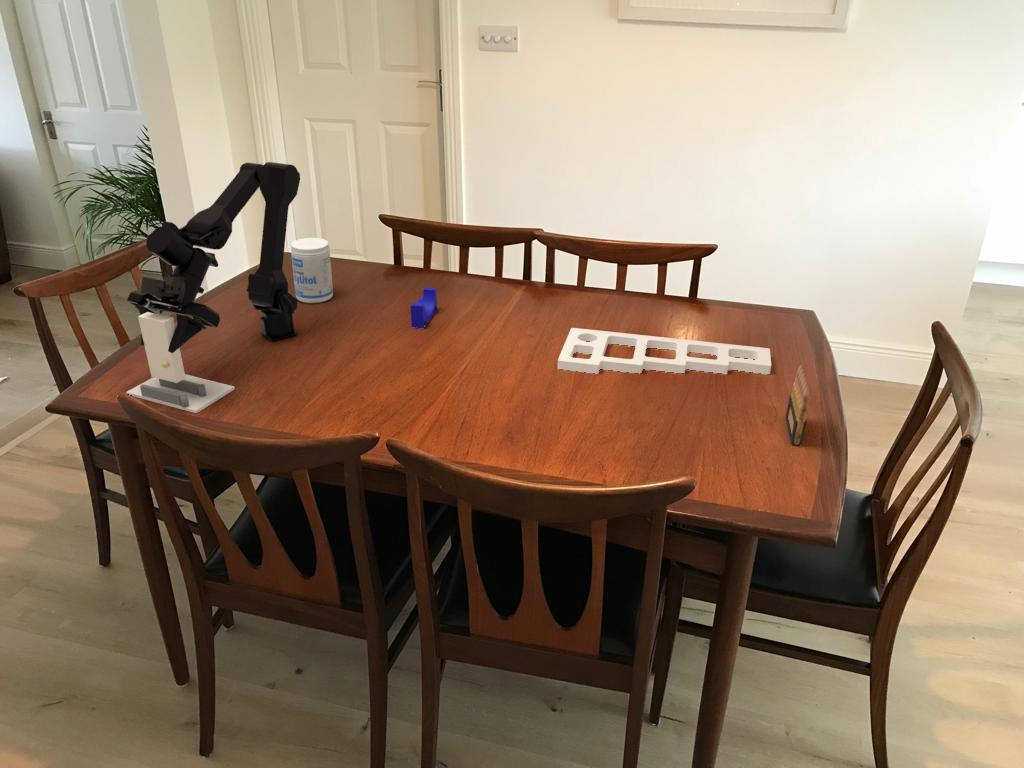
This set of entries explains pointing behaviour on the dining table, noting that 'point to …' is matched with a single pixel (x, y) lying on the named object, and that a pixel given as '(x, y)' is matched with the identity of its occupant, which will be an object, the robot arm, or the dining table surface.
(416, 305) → the blue u-shaped block
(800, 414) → the tan blue flat packet
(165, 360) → the door panel
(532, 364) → the dining table surface
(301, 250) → the supplement tub
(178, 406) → the slotted base plate
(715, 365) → the holder
